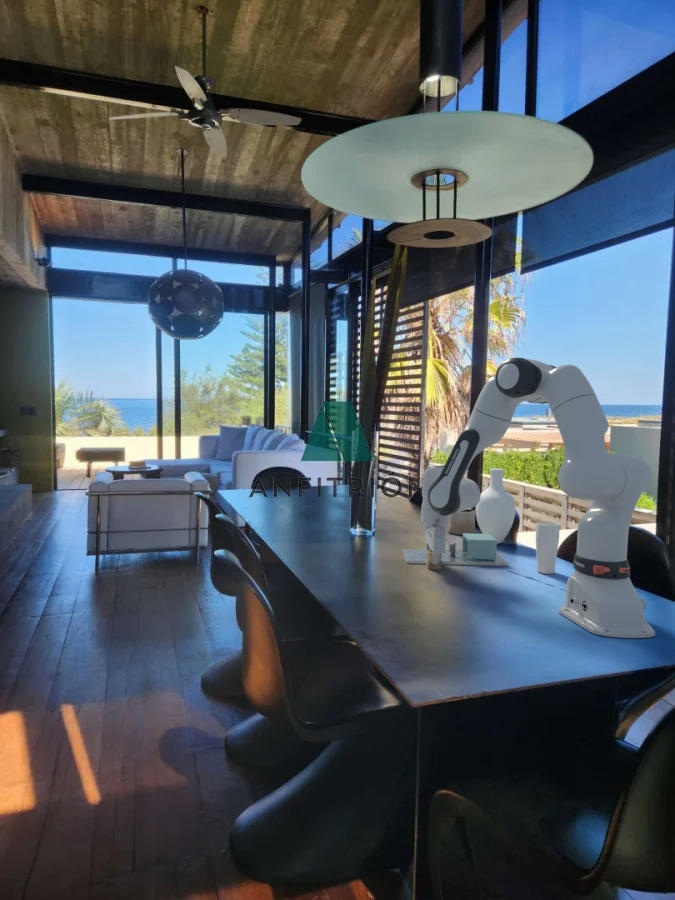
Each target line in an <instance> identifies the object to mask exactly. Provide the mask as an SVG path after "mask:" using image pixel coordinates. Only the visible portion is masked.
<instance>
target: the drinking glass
mask: <svg viewBox="0 0 675 900" xmlns="http://www.w3.org/2000/svg"><path fill="white" fill-rule="evenodd" d="M559 542H560V524H559V523H556V522H550V521H537V522H536V525H535V551H536V572H538V573H539V572H540V573H539V574H545V575H552V574H555V573H556V563H557V557H558V548H559Z"/></svg>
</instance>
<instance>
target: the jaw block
mask: <svg viewBox="0 0 675 900" xmlns="http://www.w3.org/2000/svg"><path fill="white" fill-rule="evenodd" d="M426 550H427V549H426ZM432 557H433V553H432V550H427V563H426V564H425V565H426V568H427V569H428V570H442V564H441V559H442V554H440V556H439V563H438V564H433V563H432Z"/></svg>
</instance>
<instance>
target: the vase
mask: <svg viewBox="0 0 675 900" xmlns="http://www.w3.org/2000/svg"><path fill="white" fill-rule="evenodd" d="M504 474H505V469H504V468H493V467H492V468H489V476H490V482H489V486H488V487H487V488H486V489H485V490H484V491H482V492H480V493H481V496H480V501H479V503H478V504H477V505H476V506H475V518H476V522H477V525H478V527H479V529H480V531H481V534H490V535H491V536H492V537H493V538H495V539H496V540H497V545H499V544H501V543H503V541H504V540H505V538H506V537H507V535H508V533H509V532H510V530H511V528H512V527H513V524H514V520H515V516H516V500H515V497H514V496H513V495H512V494H510V493H509V492H508V491H507V490H506V488H505V487H504V484H503V477H504Z"/></svg>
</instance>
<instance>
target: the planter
mask: <svg viewBox="0 0 675 900" xmlns="http://www.w3.org/2000/svg"><path fill="white" fill-rule="evenodd" d="M446 527H447V532H448V533H449V534H450V533H452V534H451V535H454V534H458V535H457V536H463V533H469V534H475V532H476V531H475V530H476V528H475V527H476V509H473V508H471V509H468V510H464V511H460V512H455V513H453V514H450V523H449V524H447V526H446Z"/></svg>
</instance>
